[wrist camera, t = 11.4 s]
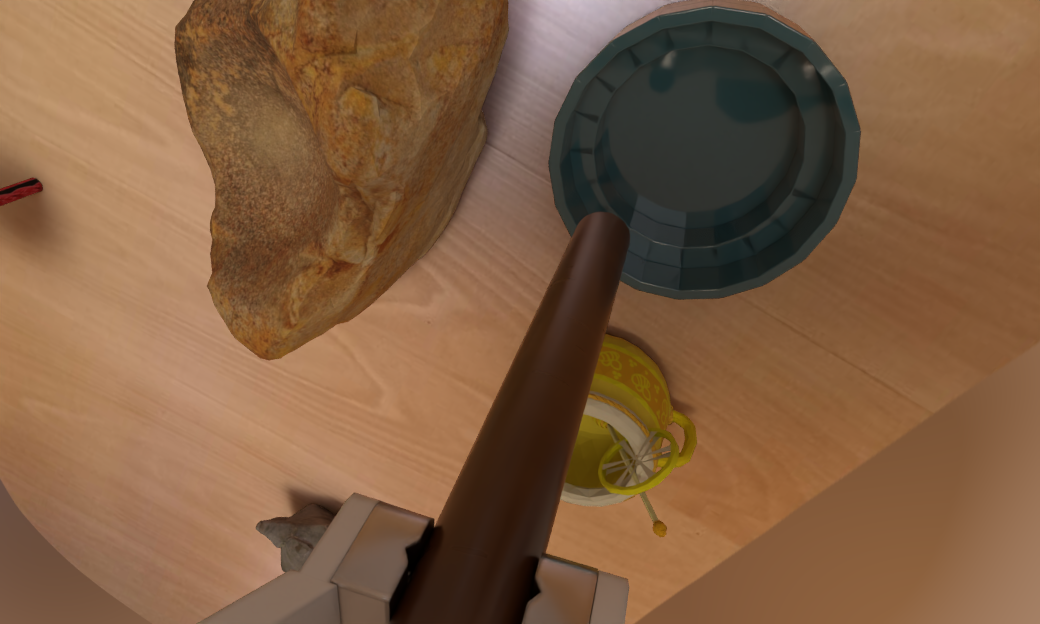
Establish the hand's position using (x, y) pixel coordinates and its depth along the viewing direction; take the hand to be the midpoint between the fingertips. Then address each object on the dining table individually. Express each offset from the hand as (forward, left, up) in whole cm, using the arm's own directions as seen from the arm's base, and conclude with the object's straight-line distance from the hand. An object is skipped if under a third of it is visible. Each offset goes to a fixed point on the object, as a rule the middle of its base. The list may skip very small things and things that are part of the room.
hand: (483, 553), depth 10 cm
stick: (0, 0, -14) cm, 14 cm away
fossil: (+23, +46, -29) cm, 59 cm away
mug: (-2, +19, -29) cm, 35 cm away
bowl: (-3, 0, -29) cm, 29 cm away
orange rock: (+17, +1, -29) cm, 34 cm away
